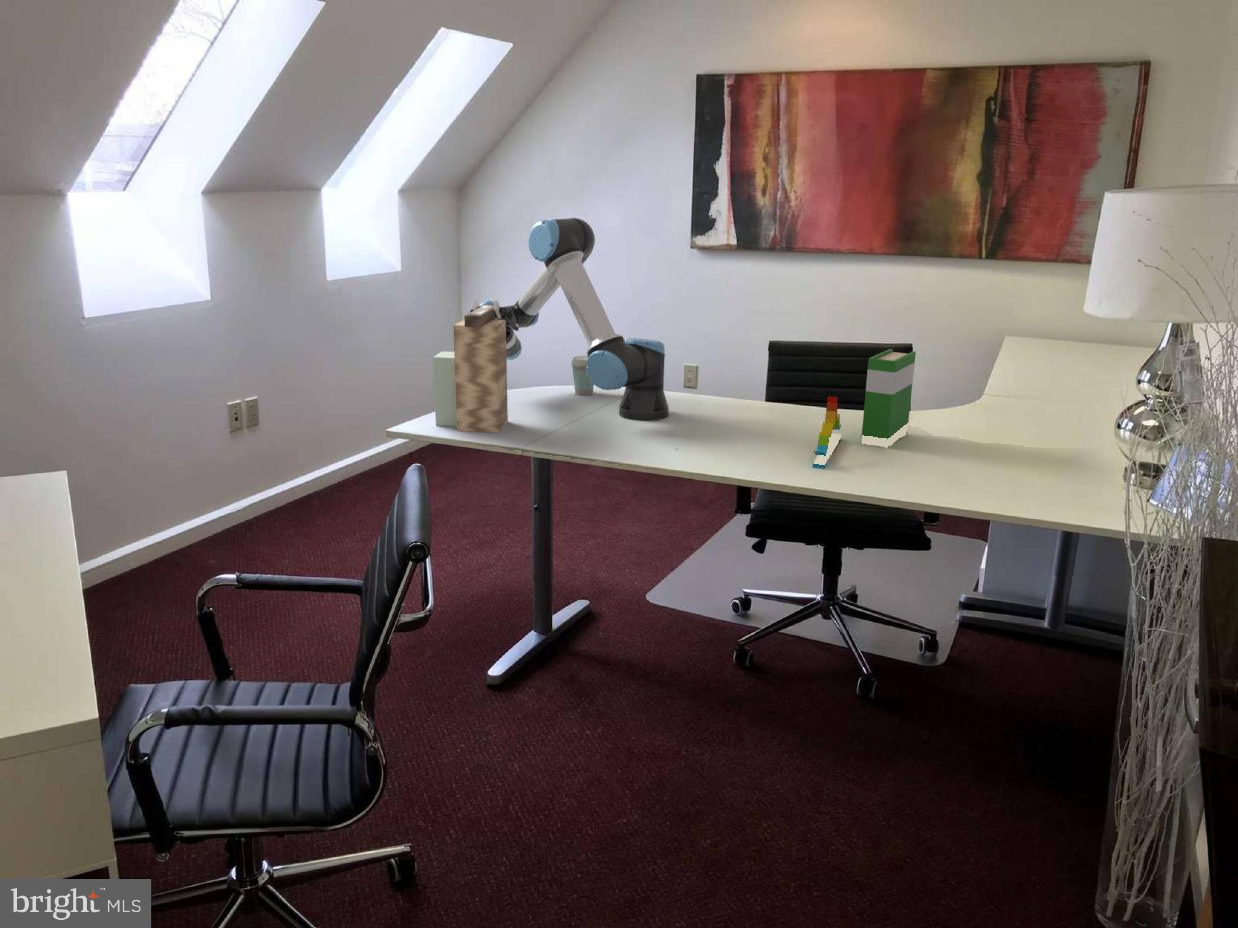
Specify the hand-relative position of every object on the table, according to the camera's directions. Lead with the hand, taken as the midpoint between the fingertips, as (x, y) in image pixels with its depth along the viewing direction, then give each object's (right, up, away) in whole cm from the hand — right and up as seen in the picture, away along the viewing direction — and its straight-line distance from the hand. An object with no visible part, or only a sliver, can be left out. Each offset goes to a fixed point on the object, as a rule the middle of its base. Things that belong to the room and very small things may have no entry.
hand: (485, 304), depth 275 cm
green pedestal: (-11, -33, +8) cm, 36 cm away
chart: (+94, -43, -17) cm, 105 cm away
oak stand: (-1, -34, +4) cm, 35 cm away
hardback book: (+113, -39, -3) cm, 119 cm away
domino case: (0, -5, -2) cm, 5 cm away
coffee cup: (+27, -22, +45) cm, 57 cm away
